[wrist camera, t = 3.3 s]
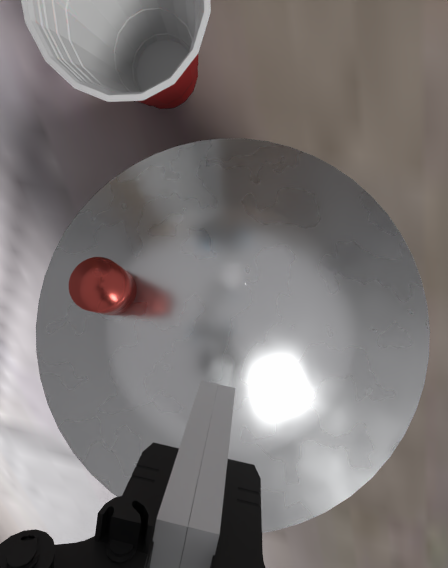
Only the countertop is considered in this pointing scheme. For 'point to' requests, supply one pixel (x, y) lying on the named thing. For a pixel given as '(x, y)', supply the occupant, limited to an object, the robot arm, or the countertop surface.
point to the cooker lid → (236, 320)
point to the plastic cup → (122, 46)
